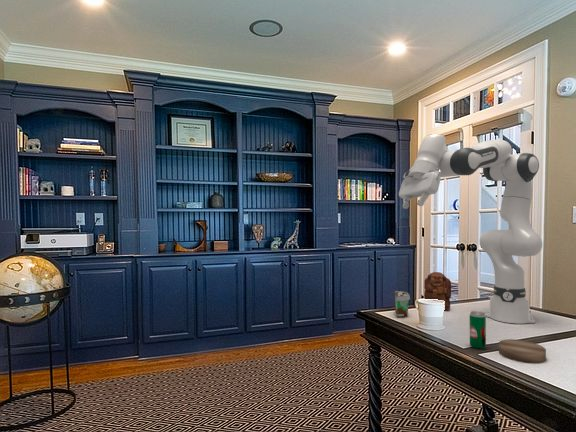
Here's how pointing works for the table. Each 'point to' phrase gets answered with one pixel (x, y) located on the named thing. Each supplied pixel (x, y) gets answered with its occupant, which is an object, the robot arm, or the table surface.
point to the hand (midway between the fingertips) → (412, 206)
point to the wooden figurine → (438, 288)
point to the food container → (401, 304)
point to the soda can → (477, 330)
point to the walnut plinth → (522, 351)
